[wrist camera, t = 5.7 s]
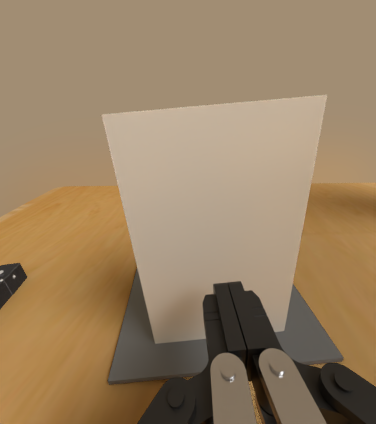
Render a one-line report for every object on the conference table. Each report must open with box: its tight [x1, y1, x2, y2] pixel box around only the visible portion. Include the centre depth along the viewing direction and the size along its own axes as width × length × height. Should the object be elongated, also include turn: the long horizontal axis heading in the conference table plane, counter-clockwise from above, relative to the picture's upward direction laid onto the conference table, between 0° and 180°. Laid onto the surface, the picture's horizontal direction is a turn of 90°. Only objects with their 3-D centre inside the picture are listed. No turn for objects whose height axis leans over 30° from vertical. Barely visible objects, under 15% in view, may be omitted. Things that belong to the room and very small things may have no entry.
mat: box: [108, 268, 343, 385], centre depth 24 cm, size 22×16×1 cm
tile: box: [102, 95, 327, 344], centre depth 13 cm, size 2×10×16 cm, turn 93°
